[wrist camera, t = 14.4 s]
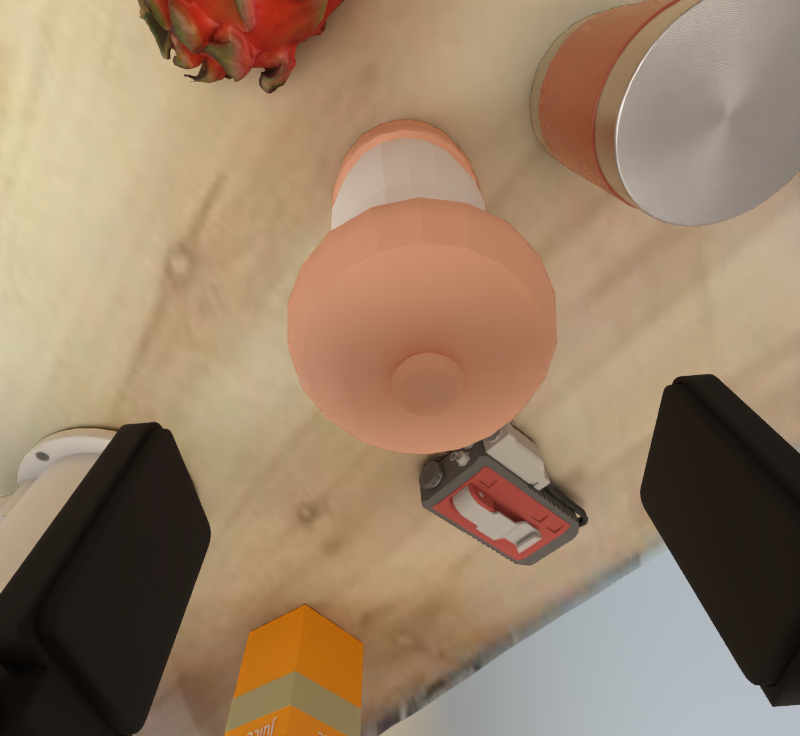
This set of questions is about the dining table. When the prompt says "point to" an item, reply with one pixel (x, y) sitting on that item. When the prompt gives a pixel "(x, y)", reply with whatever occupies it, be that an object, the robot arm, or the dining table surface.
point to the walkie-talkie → (502, 497)
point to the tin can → (677, 104)
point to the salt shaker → (419, 301)
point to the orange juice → (298, 680)
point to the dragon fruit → (235, 35)
